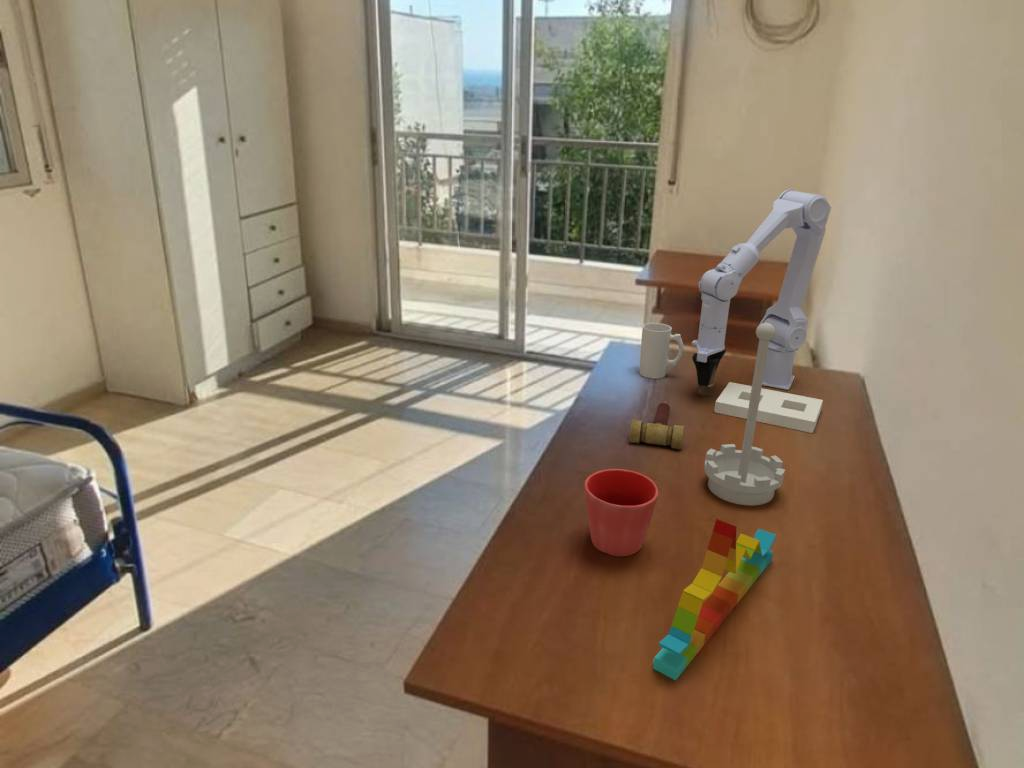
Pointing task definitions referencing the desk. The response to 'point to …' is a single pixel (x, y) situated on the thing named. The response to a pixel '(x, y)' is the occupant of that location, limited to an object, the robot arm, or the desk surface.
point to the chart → (713, 594)
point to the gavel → (657, 430)
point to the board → (771, 407)
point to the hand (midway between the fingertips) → (705, 382)
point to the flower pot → (619, 509)
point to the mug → (657, 350)
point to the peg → (707, 390)
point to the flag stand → (747, 450)
